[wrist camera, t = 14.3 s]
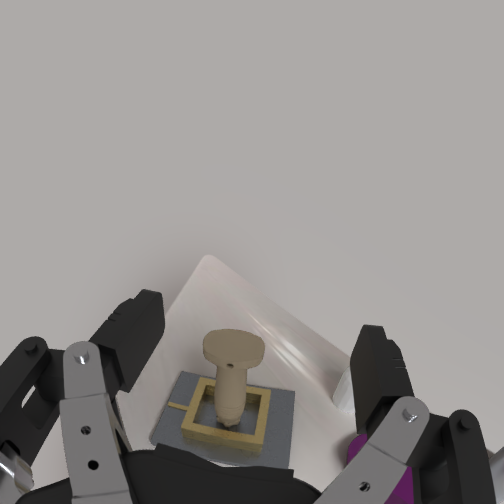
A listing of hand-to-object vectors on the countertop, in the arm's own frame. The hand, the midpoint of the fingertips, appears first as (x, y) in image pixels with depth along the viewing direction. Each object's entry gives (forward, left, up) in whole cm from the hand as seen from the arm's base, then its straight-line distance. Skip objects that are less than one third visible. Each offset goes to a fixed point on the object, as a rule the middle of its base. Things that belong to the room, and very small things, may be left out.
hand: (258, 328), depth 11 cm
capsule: (-23, -10, -30) cm, 39 cm away
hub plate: (-4, -13, -30) cm, 33 cm away
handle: (-4, -13, -29) cm, 32 cm away
